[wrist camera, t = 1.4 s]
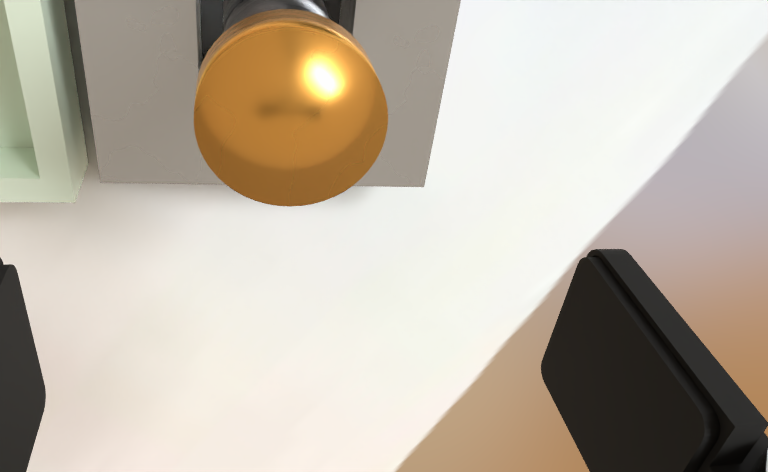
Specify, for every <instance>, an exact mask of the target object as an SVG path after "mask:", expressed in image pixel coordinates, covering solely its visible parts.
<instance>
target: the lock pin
mask: <svg viewBox="0 0 768 472" xmlns="http://www.w3.org/2000/svg"><path fill="white" fill-rule="evenodd" d="M387 127H388V108H387V102H386V98H385V94H384V91H383V89H382V86H381V84H380V81H379V79H378V77H377V75H376V72H375V70H374V68H373V66H372V63H371V61H370V59H369V57H368V55H367V54H366V52H365V50H364V49H363V47H362V46H361V45H360V43H359V42H358V41H357V40H356V39H355V38H354V37H353V36H352V35H351V33H349V32H348V31H347V30H346V29H344V28H343V27H342V26H341V25H339V24H337V23H336V22H334V21H332V20H330V17H329V15H328V12H327V9H326V7H325V4H324V1H323V0H223V34H222V35H221V36H220V37H219V38H218V39H217V40H216V41H215V42H214V43H213V45H212V46H211V48H210V49H209V50H208V52H207V54H206V56H205V58H204V60H203V62H202V64H201V67H200V70H199V74H198V79H197V85H196V95H195V105H194V131H195V137H196V140H197V144H198V147H199V149H200V152H201V154H202V156H203V158H204V160H205V161H206V163H207V165H208V166H209V167H210V169H211V170H212V171H213V172H214V174H215V175H216V176H217V177H218V178H219V179H220V180H221V181H222V182H224V183H225V184H226V185H227V186H229V187H230V188H231V189H233V190H234V191H236V192H238V193H240V194H241V195H243V196H245V197H248V198H250V199H253V200H255V201H259V202H262V203H266V204H271V205H277V206H302V205H309V204H314V203H318V202H321V201H325V200H327V199H330V198H332V197H335V196H336V195H338V194H340V193H342V192H344V191H346V190H347V189H348V188H350V187H351V186H353V185H354V184H355V183H357V182H358V181H359V180H360V179H361V178H362V177H363V176H364V175H365V174H366V173H367V172H368V171H369V169H370V168H371V167H372V165H373V164H374V162H375V161H376V159H377V157H378V155H379V154H380V152H381V149H382V147H383V144H384V141H385V138H386V133H387Z"/></svg>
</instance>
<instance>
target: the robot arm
mask: <svg viewBox="0 0 768 472" xmlns="http://www.w3.org/2000/svg"><path fill="white" fill-rule="evenodd" d="M541 373H542V377H543V380H544V382H545V384H546V386H547V388H548V390H549V392H550V394H551V396H552V398H553V400H554V402H555V404H556V406H557V408H558V410H559V412H560V414H561V416H562V418H563V420H564V422H565V424H566V426H567V428H568V430H569V432H570V433H571V435H572V437H573V439H574V441H575V443H576V445H577V447H578V449H579V451H580V453H581V455H582V457H583V459H584V461H585V463H586V464H587V467H588V469H589V471H590V472H768V437H767V436H766V434H765V433H764V431H765V429H766V427H767V426H768V422H767V421H766V420H765V418H764V417H763V416H762V415H761V414H760V412H759V411H758V410H757V409H756V408H755V406H754V405H753V404H752V403H751V401H750V400H749V399H748V398H747V397H746V395H745V394H744V393H743V392H742V390H741V389H740V388H739V387H738V385H737V384H736V383H735V382H734V381H733V379H732V378H731V377H730V376H729V375H728V373H727V372H726V371H725V370H724V368H723V367H722V366H721V365H720V364H719V362H718V361H717V360H716V359H715V358H714V356H713V355H712V354H711V353H710V351H709V350H708V349H707V348H706V347H705V345H704V344H703V343H702V342H701V340H700V339H699V338H698V337H697V336H696V334H695V333H694V332H693V331H692V329H691V328H690V327H689V326H688V325H687V323H686V322H685V321H684V320H683V318H682V317H681V316H680V315H679V314H678V312H676V310H675V309H674V307H673V306H672V305H671V304H670V303H669V301H668V300H667V299H666V298H665V296H664V295H663V294H662V293H661V292H660V290H659V289H658V288H657V287H656V286H655V284H654V283H653V282H652V281H651V279H650V278H649V277H648V276H647V275H646V273H645V272H644V271H643V270H642V268H641V267H640V266H639V265H638V264H637V262H636V261H635V260H634V259H633V258H632V256H631V255H630V254H629V253H628V252H627V251H626V250H623V249H596V250H591V251H590V252H589V253H588V255H587V257H585V258H582V259H581V260H580V261H579V263H578V265H577V268H576V271H575V273H574V276H573V279H572V282H571V284H570V287H569V289H568V292H567V295H566V298H565V300H564V303H563V306H562V308H561V311H560V314H559V316H558V319H557V322H556V325H555V327H554V330H553V333H552V335H551V338H550V341H549V343H548V346H547V349H546V351H545V354H544V357H543V360H542V364H541ZM45 398H46V393H45V385H44V381H43V377H42V373H41V368H40V364H39V360H38V356H37V352H36V348H35V344H34V339H33V335H32V331H31V327H30V323H29V319H28V315H27V310H26V306H25V302H24V298H23V294H22V290H21V286H20V281H19V277H18V273H17V270H16V268H15V266H14V265H3V262H2V260H1V258H0V472H26V470H27V467H28V463H29V460H30V456H31V453H32V449H33V446H34V443H35V439H36V436H37V432H38V429H39V426H40V422H41V419H42V415H43V412H44V407H45Z"/></svg>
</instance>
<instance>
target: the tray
mask: <svg viewBox="0 0 768 472" xmlns="http://www.w3.org/2000/svg"><path fill="white" fill-rule="evenodd" d="M87 166H88V158H87V151H86V145H85V138H84V132H83V125H82V119H81V112H80V105H79V99H78V92H77V86H76V79H75V73H74V66H73V60H72V53H71V46H70V40H69V33H68V27H67V20H66V14H65V7H64V1H63V0H0V202H41V203H75V202H76V199H77V196H78V193H79V190H80V187H81V184H82V181H83V178H84V175H85V172H86V169H87Z"/></svg>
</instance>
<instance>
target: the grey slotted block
mask: <svg viewBox="0 0 768 472" xmlns="http://www.w3.org/2000/svg"><path fill="white" fill-rule="evenodd" d="M74 1H75V8H76V15H77V22H78V29H79V36H80V43H81V50H82V57H83V64H84V71H85V78H86V85H87V92H88V99H89V106H90V113H91V120H92V127H93V134H94V141H95V148H96V155H97V162H98V169H99V176H100V183H167V184H225V183H224V182H222V181H221V180H220V179H219V178H218V177H217V176H216V175H215V174H214V172H213V171H212V170H211V169H210V167H209V166H208V165H207V163H206V161H205V160H204V158H203V156H202V154H201V152H200V149H199V147H198V144H197V140H196V137H195V131H194V105H195V95H196V85H197V79H198V74H199V70H200V67H201V64H202V37H201V6H200V0H74ZM460 1H461V0H341V9H340V20H339V25H341V26H342V27H343V28H344V29H346V30H347V31H348V32H349V33H351V35H352V36H353V37H354V38H355V39H356V40H357V41H358V42H359V43H360V45H361V46H362V47H363V49H364V50H365V52H366V54H367V55H368V57H369V59H370V61H371V63H372V66H373V68H374V70H375V72H376V75H377V77H378V79H379V81H380V84H381V86H382V89H383V91H384V94H385V98H386V102H387V108H388V127H387V133H386V138H385V141H384V144H383V147H382V149H381V152H380V154H379V155H378V157H377V159H376V161H375V162H374V164H373V165H372V167H371V168H370V169H369V171H368V172H367V173H366V174H365V175H364V176H363V177H362V178H361V179H360V180H359V181H358V182H357V183H355V184H354V185H353V186H390V187H424V184H425V179H426V174H427V169H428V164H429V159H430V154H431V149H432V144H433V139H434V133H435V128H436V123H437V118H438V113H439V108H440V103H441V98H442V93H443V88H444V83H445V77H446V72H447V67H448V62H449V57H450V52H451V47H452V42H453V37H454V32H455V27H456V22H457V16H458V11H459V6H460Z"/></svg>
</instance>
